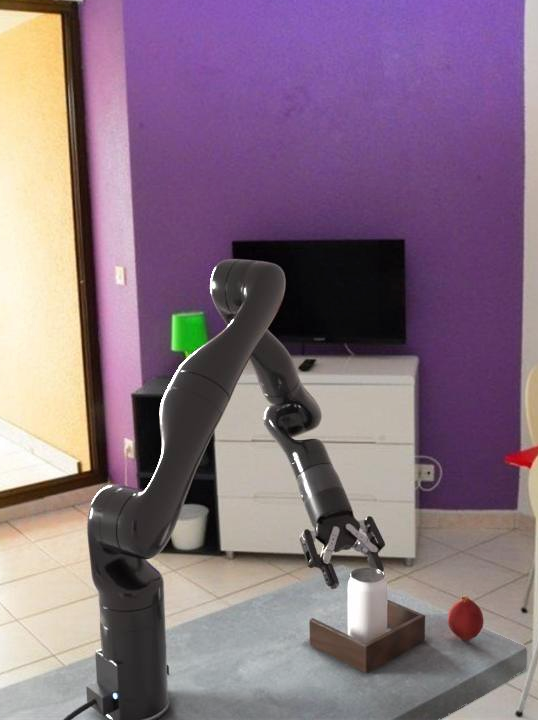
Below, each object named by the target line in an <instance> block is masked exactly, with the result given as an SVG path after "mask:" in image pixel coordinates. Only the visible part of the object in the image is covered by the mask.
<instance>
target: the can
mask: <svg viewBox="0 0 538 720" xmlns="http://www.w3.org/2000/svg"><path fill="white" fill-rule="evenodd" d="M385 577H386V574H385V572H384V571H381V570H379V569H376V568H370V566H365V567H359V568H355V569H354V570H351V572H350V578H349V580H348V581H347V634H348V635H350V636H352V637H354V638H356V639H358V640H360V641H362V642H364V643H367V642H369V641H371V640H373V639H375V638H377V637H379V636H381V635H383V634H384V633H386V632H388V627H387V600H388V582H387V580H386V578H385Z"/></svg>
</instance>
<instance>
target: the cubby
mask: <svg viewBox="0 0 538 720" xmlns="http://www.w3.org/2000/svg"><path fill="white" fill-rule="evenodd" d="M387 628H390V630H387V632H386V633H384V634H383V635H381V636H379V637H377V638H375V639H373V640H371V641H369V642H367V643H364V642H362V641H360V640H358V639H356V638H354V637H352V636H350V635H348V633H345V632H343V631H341V630H339V629H338V628H335V627H334V626H330V625H328V624H326V623H324V622H322V621H321V620H318V619H316V618H314V617H312V618H310V619H309V645H310V646H311V647H314V648H315V649H318V650H320V651H321V652H323V653H324V654H327V655H329V656H331V657H333V658H334V659H337V660H339V661H341V662H343V663H345V664H347V665H349V666H351V667H353V668H354V669H357V670H358V671H361V672H362V673H364V674H368V673H369V672H371V671H373V670H376V669H377V668H379V667H380V666H382V665H384V664H386V663H387V662H389V661H391V660H393V659H394V658H397V657H398V656H399V655H401V654H403V653H405V652H407V651H408V650H410V649H413V648H414V647H416V646H417V645H419V644H421V643H423V642H425V641H426V615H425V614H423V613H420V612H418V611H416V610H414V609H411V608H409V607H406V606H405V605H401V604H399V603H397V602H394V601H391V600H390V599H387Z"/></svg>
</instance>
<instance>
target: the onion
mask: <svg viewBox="0 0 538 720" xmlns="http://www.w3.org/2000/svg"><path fill="white" fill-rule="evenodd" d="M446 619H447V625H448V627H449V629H450V631H451V632H452V633H453V634H454V635H455V636H456V637H457V638H459V639H460V640H461V641H462V642H468V641H470V640H472V639H474V638H476V637H477V636H478V635H479V634H480V633H481V631H482V629H483V627H484V623H485V622H484V615H483V612H482V609H481V608H480V606H479V605H478V604H477V603H476V602H475V601H473V600H472V599H471V598H469V596H468V595H462V596H461V597H460V599H459V600H458V601H456V602H455V603H454V604H452V606H451V608H450V609H449V610H448V614H447V617H446Z"/></svg>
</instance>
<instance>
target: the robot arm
mask: <svg viewBox="0 0 538 720" xmlns="http://www.w3.org/2000/svg"><path fill="white" fill-rule="evenodd" d="M286 283H287V279H286V275H285V272H284V270H283V268H282V267H281V266H279V265H278V264H276V263H274V262H269V261H263V260H252V259H243V258H226V259H223V260H221V261H219V263H218V264H216V266H215V267H214V269H213V271H212V274H211V278H210V285H209V286H210V287H209V289H210V295H211V299H212V302H213V304H214V306H215V308H216V310H217V312H218V313H219V315H220V317H221V319H223V321H224V322H225V324H226V325H227V326H226V327H225V328H224V329H223V330H222V331H221V332H220V333H218V334H217V335H216V336H214V337H213V338H212V339H210V340H209V341H207V342H206V343H205V344H203V345H202V346H200V347H199V348H198V349H197V350H195V351H194V352H193V353H192V354H190V355H189V356H188V357H187V358H186V359H185V360H184V361H183V362H182V363H181V364H180V365H179V366H178V369H177V370H176V372H175V373H174V375H173V377H172V379H171V381H170V383H169V384H168V386H167V389H166V390H165V392H164V394H163V397H162V399H161V402H160V406H159V429H160V437H161V452H160V453H161V454H160V458H159V461H158V464H157V467H156V469H155V471H154V473H153V476H152V478H151V480H150V482H149V483H148V485H147V487H146V488H145V489H141V488H137V487H131V486H127V485H122V484H110V485H106V486H105V487H103V488H102V489H100V490H99V491H98V492H97V493H96V495H95V496H94V498H93V499H92V502H91V504H90V507H89V510H88V514H87V523H86V535H87V545H88V554H89V561H90V562H89V564H90V574H91V579H92V583H93V585H94V587H95V589H96V591H97V593H98V595H97V596H98V614H99V615H98V616H99V633H100V635H99V637H100V649H98V650H96V651H95V656H94V657H95V673H96V681H94V682H92V683H90V684H87V685H86V687H85V688H86V702H85V703H84V704H82V705H80V706H79V707H77V708H76V709H74V710H73V711H72V712H70V713H69V714H68V715H66V716H65V717H64V718H63V719H62V720H73V719H74V718H76V717H78V716H79V715H80V714H82V713H84V712H85V711H86V710H88V709H89V708H93V709H94V710H95V711H96V712H98V713H99V714H100V715H101V716H103V717H104V718H106V720H158V719H159V718H161V717H162V716H164V715H165V713H167V711H168V709H169V707H170V697H169V685H168V682H169V681H168V676H170V666H169V664H168V659H167V657H168V655H167V634H166V633H167V632H166V604H165V582H164V578H163V577H164V576H163V575H162V573H161V572H160V571H159V570H158V569H157V568H156V567H155V566H153V565H152V564H151V563H150V562H149V561H148V560H150V559H153V558H155V557H156V556H158V555H159V554H160V553H161V552H162V551H163V550H164V548H165V547H166V546H167V544H168V542H169V541H170V539H171V537H172V535H173V533H174V530H175V528H176V526H177V523H178V520H179V517H180V515H181V512H182V509H183V508H184V504H185V502H186V498H187V495H188V493H189V490H190V488H191V485H192V483H193V479H194V476H195V475H196V472H197V469H198V467H199V466H200V463H201V460H202V459H203V456H204V454H205V451H206V450H207V447H208V445H209V443H210V441H211V438H212V437H213V435H214V432H215V431H216V429H217V427H218V425H219V423H220V421H221V419H222V417H223V415H224V414H225V411H226V408H227V407H228V405H229V404H230V403H229V402H230V400H231V398H232V396H233V394H234V392H235V390H236V387H237V385H238V383H239V381H240V378H241V377H242V375H243V373H244V370H245V368H246V367H247V364H248V363H250V365H251V367H252V369H253V371H254V374H255V376H256V379H257V381H258V385H259V387H260V390H261V392H262V394H263V397H264V398H265V400H266V401H267V402H268V403H270V406H267V408H266V409H265V410H264V413H263V417H262V418H263V424H264V427H265V429H266V432H268V434H269V435H270V437H271V438H272V439H273V440H274V441H275V443H276V444H277V445H278V446H279V447H280V449H281V451H282V452H283V453H284V455H285V457H286V459H287V461H288V462H289V466H290V467H291V470H292V473H293V476H294V477H295V480H296V483H297V487H298V491H299V494H300V498H301V501H302V503H303V505H304V507H305V510H306V513H307V516H308V518H309V520H310V524H311V526H312V528H313V530H310V529H308V528H306V529H304V530H303V531H302V533H301V534H300V536H299V542H300V545H301V549H302V552H303V554H304V559H305V562H306V564H307V567H308V568H309V569H313V568H318V569H319V570H320V571H321V574H322V576H323V579H324V582H325V584H326V585H327V587H330V590H335V589H337V588H338V587H339V586H340V581H339V578H338V576H337V573H336V570H335V568H334V565H333V563H330V562H331V558H332V555H333V552H334V553H340V552H341V551H348V550H351V549H353V550H354V551H356V552H358V553H361V554H362V555H364V556H365V557H366V558H367V559H366V561H367V563H368V565H369V566H368V567H370V568H376V569H379V570H381V571H383V572H384V570H385V568H384V565H383V562H382V560H381V558H380V556H379V555H380V554H379V553H380V552H381V551H382V550H383V548H384V547H385V546H386V543H385V540H384V538H383V536H382V534H381V532H380V530H379V528H378V526H377V524H376V522H375V520H374V518H373V516H372V515H369V516H367V517H366V518H364V519H361V520H358V519H357V518H356V517H355V515H354V510H353V508H352V505H351V502H350V500H349V498H348V495H347V493H346V491H345V488H344V486H343V483H342V481H341V479H340V476H339V474H338V472H337V471H336V469H335V467H334V464H333V463H332V460H331V458H330V455H329V453H328V450H327V448H326V446H325V444H324V442H323V441H322V440H320V439H318V438H307V439H294V438H296V437H298V436H301V435H304V434H306V433H308V432H311V431H313V430H315V429H317V428H318V427H319V426H320V424H321V422H322V418H323V417H322V410H321V407H320V405H319V404H318V402H317V401H316V399H315V398H314V397H313V396H312V394H311V393H310V392H308V390H307V389H306V388H305V386H304V385H303V384H302V381H301V379H300V376H299V374H298V371H297V368H296V365H295V362H294V360H293V358H292V355H291V354H290V352H289V351H288V349H287V348H286V347H285V345H284V344H283V343H282V342H281V341H280V340H279V339H278V338H277V337H276V336H275V335H274V334H273V333H272V332H271V331H270V330H269V327H270V325H271V324H272V322H273V320H274V319H275V317H276V315H277V314H278V312H279V310H280V307H281V305H282V302H283V301H284V297H285V292H286V286H287V285H286ZM360 530H361V531H362V532H361V531H360ZM363 533H365V535H364V534H363ZM316 540H317V541H318V542H319V543H320V544H322V548H321V551H320V555H319V554H318V551H317V547H316V544H315V542H316Z"/></svg>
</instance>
